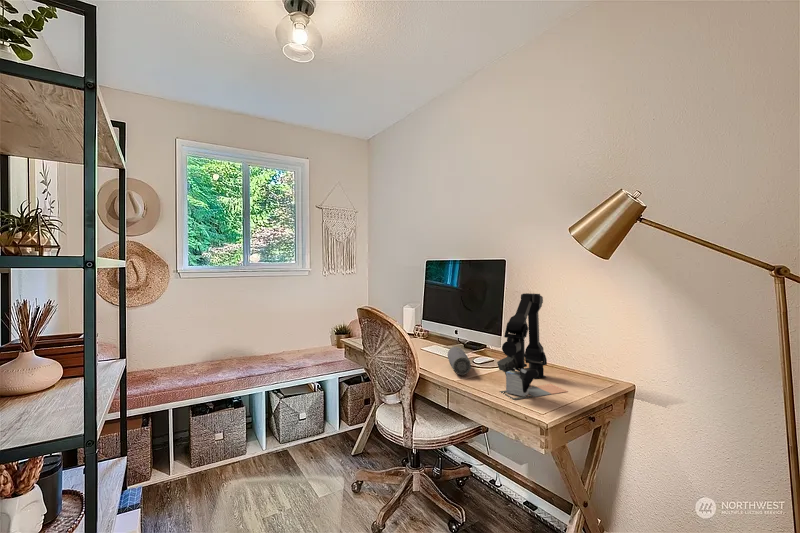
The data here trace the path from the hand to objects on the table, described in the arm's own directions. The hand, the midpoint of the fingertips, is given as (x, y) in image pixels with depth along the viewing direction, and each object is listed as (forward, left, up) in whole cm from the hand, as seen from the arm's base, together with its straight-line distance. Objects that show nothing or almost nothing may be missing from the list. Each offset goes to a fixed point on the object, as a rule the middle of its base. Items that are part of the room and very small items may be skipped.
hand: (517, 389), depth 156 cm
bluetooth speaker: (-39, -6, -2) cm, 39 cm away
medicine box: (0, 0, -2) cm, 2 cm away
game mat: (0, +8, -2) cm, 9 cm away
